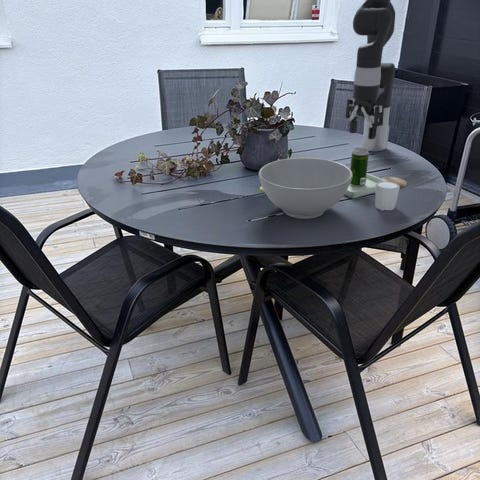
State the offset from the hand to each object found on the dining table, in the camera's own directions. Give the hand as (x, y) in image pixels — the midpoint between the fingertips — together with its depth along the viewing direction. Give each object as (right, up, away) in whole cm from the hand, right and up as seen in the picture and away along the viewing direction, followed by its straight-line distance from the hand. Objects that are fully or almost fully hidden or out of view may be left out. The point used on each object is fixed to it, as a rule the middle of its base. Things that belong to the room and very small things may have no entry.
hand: (362, 135), depth 146 cm
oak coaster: (+13, -14, +10) cm, 21 cm away
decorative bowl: (-19, -24, -7) cm, 32 cm away
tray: (+1, -15, +8) cm, 17 cm away
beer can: (+1, -15, +8) cm, 17 cm away
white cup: (+5, -23, -7) cm, 25 cm away
